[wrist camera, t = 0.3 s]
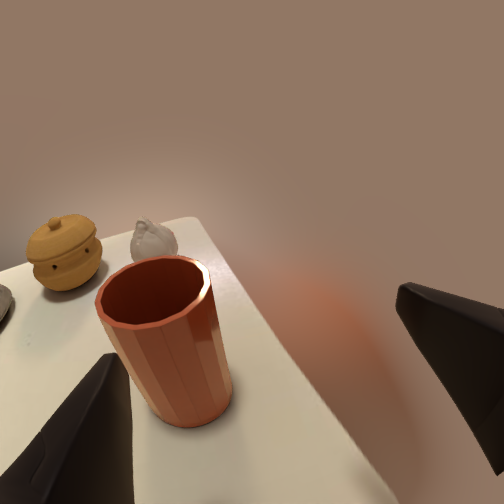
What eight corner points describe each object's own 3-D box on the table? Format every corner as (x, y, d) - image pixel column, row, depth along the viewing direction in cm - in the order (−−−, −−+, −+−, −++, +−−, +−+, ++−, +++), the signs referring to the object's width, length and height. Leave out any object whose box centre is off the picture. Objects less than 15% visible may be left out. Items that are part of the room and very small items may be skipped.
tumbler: (240, 419, 20) (217, 316, 14) (149, 431, 18) (84, 336, 13) (224, 353, 26) (204, 247, 20) (149, 365, 25) (107, 265, 19)
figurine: (192, 257, 41) (182, 204, 37) (164, 285, 36) (149, 227, 32) (156, 251, 43) (145, 202, 39) (127, 276, 38) (111, 223, 34)
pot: (72, 256, 44) (55, 203, 39) (122, 260, 42) (105, 198, 37) (30, 296, 34) (4, 238, 29) (78, 308, 32) (49, 238, 27)
